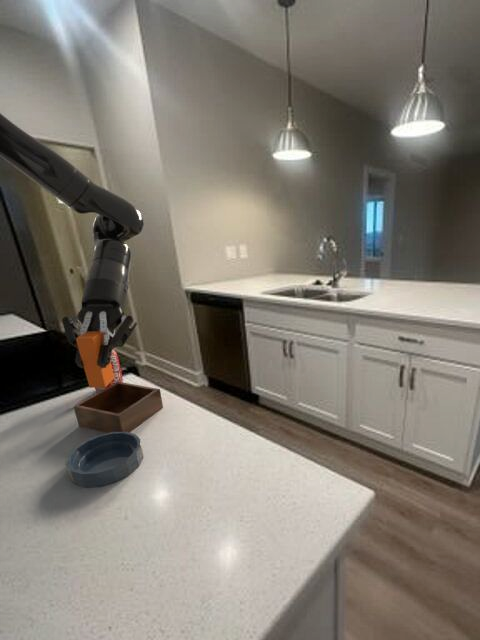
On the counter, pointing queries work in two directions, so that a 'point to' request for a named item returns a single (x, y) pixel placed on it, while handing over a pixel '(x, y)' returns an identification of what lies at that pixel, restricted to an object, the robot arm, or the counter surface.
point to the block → (94, 359)
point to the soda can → (116, 371)
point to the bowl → (105, 459)
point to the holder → (118, 408)
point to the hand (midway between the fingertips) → (91, 366)
